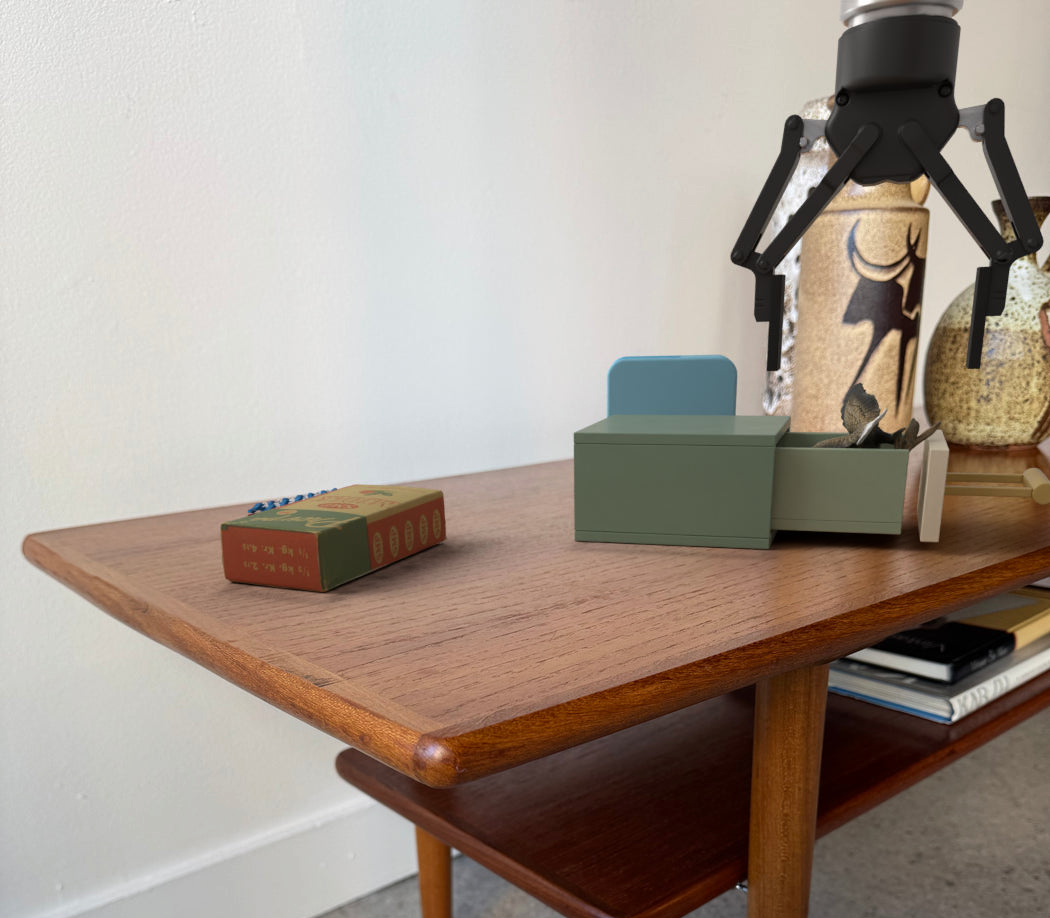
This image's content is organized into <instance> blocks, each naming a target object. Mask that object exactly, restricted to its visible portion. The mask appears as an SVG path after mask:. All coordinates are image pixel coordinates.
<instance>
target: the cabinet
mask: <svg viewBox="0 0 1050 918" xmlns="http://www.w3.org/2000/svg"><path fill="white" fill-rule="evenodd" d="M791 422H792V415H738V414H737V415H612V416H610V417H608V418H607V417H606V418H604V419H602V420H599V421H597V422H594V423H592V424H590V425H588V426H585V427H583V428H581V429H578V430H576V431H575V432H573V522H574V524H573V525H574V527H573V529H574V541H575V542H589V543H590V542H593V543H613V544H614V543H615V544H637V545H660V546H679V547H681V546H682V547H702V548H704V547H705V548H706V547H707V548H724V549H725V548H726V549H727V548H729V549H746V550H747V549H751V550H769V549H770V547H771V546H772V543H773V541H774V539H775V537H776V535H777V533H778V532H779V530H771V523H772V506H773V489H774V473H775V456H776V446H775V445H776V444H777V443H778V441H779V440H780V439H781V437H782V436H783V435H784V433H785V432H791V424H792V423H791Z"/></svg>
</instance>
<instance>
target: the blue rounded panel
mask: <svg viewBox="0 0 1050 918" xmlns="http://www.w3.org/2000/svg"><path fill="white" fill-rule="evenodd" d="M606 375H607V376H606V418H608V417H610V416H612V415H736V414H737V395H738V394H737V391H738V370H737V367H736V365H735V363H734V362H733V361H732V360H731V359H730V358H729V357H727V356H726V355H722V354H685V355H683V354H681V355H678V354H677V355H637V356H636V355H633V356H622V357H619V358H617V359H616V360H615V361H614V362H613V363H612V364H611V366H610V367H609V369H608V371H607V374H606Z"/></svg>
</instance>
